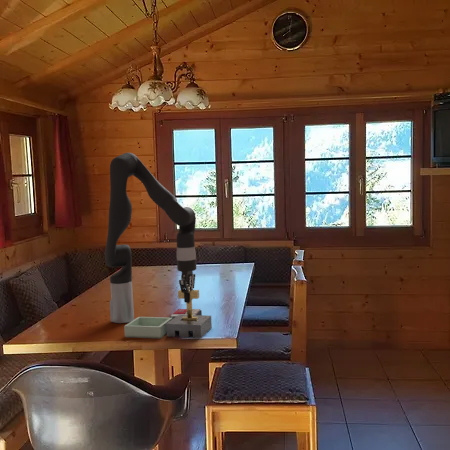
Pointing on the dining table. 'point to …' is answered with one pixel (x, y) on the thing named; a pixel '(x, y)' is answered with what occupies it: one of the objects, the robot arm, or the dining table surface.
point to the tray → (147, 327)
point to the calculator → (185, 312)
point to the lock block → (189, 326)
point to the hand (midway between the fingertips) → (188, 301)
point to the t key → (189, 304)
